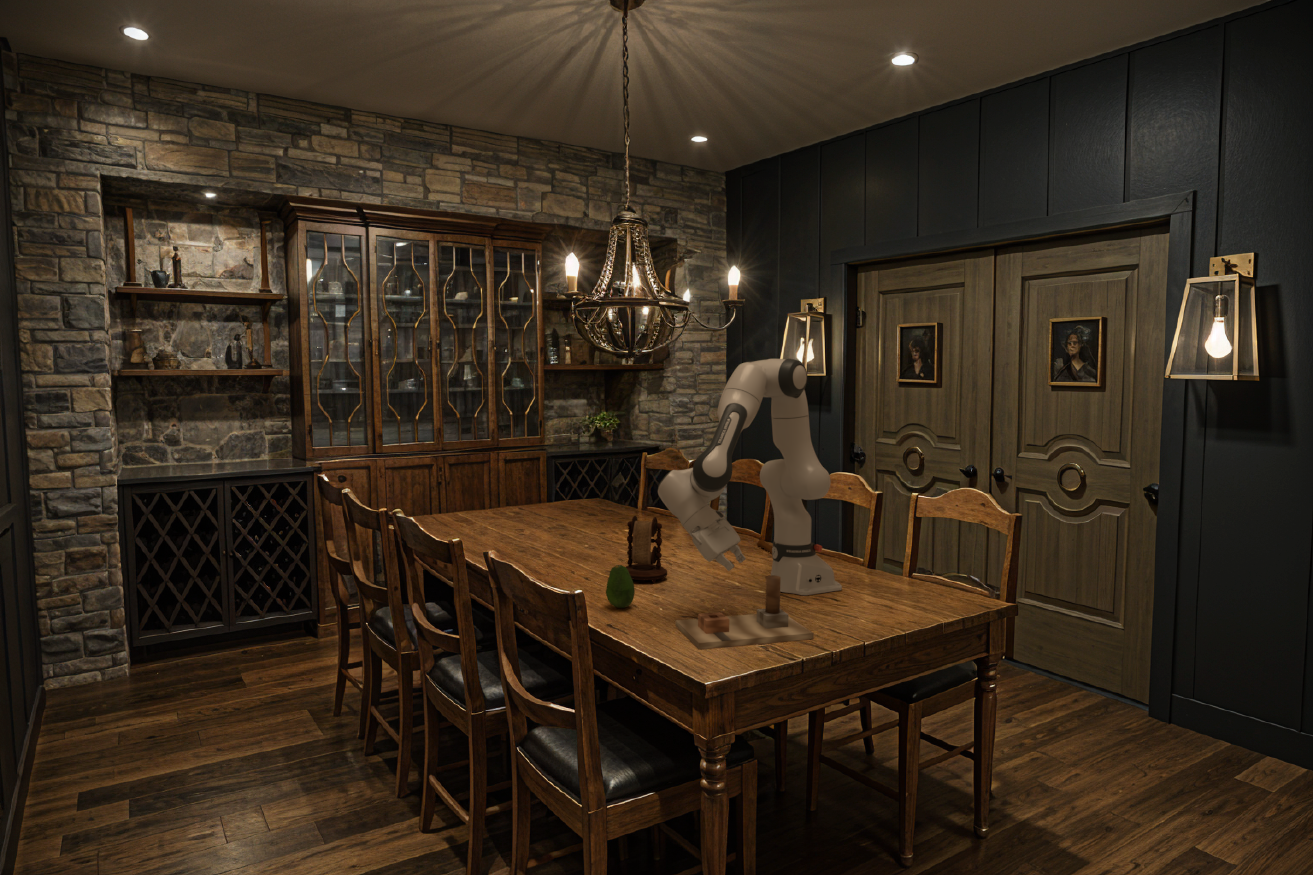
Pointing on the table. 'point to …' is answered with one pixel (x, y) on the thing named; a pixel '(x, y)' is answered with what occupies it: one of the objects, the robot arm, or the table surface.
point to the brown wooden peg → (773, 594)
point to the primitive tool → (764, 546)
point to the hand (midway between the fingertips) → (737, 564)
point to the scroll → (644, 550)
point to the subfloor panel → (742, 629)
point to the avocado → (620, 587)
